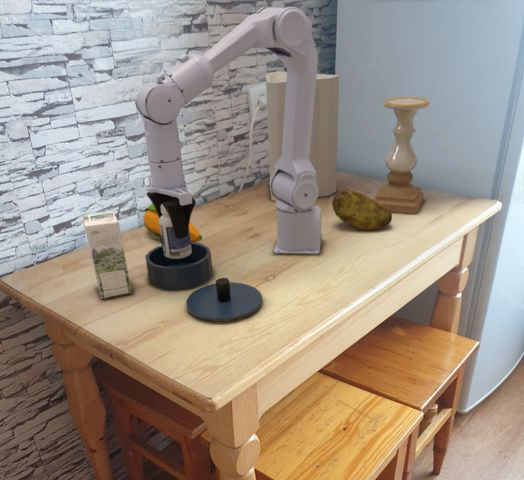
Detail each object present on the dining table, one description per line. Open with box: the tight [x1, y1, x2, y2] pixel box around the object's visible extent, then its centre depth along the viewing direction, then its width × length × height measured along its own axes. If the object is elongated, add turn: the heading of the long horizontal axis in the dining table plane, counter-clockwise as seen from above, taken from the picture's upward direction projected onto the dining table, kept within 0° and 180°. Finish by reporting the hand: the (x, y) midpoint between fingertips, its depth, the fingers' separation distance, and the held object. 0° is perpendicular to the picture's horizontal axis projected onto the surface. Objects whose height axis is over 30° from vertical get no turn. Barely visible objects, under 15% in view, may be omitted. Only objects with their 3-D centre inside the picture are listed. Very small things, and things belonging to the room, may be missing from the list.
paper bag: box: [265, 71, 340, 202], centre depth 143 cm, size 19×15×28 cm
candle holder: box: [372, 96, 431, 215], centre depth 133 cm, size 11×11×24 cm
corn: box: [143, 203, 203, 243], centre depth 124 cm, size 7×8×20 cm
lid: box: [185, 277, 263, 322], centre depth 99 cm, size 13×13×5 cm
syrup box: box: [82, 210, 133, 300], centre depth 103 cm, size 6×6×14 cm
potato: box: [331, 189, 393, 231], centre depth 126 cm, size 8×13×8 cm, turn 58°
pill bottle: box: [159, 204, 192, 259], centre depth 106 cm, size 5×5×10 cm
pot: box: [144, 242, 214, 291], centre depth 110 cm, size 12×12×5 cm
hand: (175, 232), depth 106 cm, fingers closed on pill bottle, 5 cm apart
